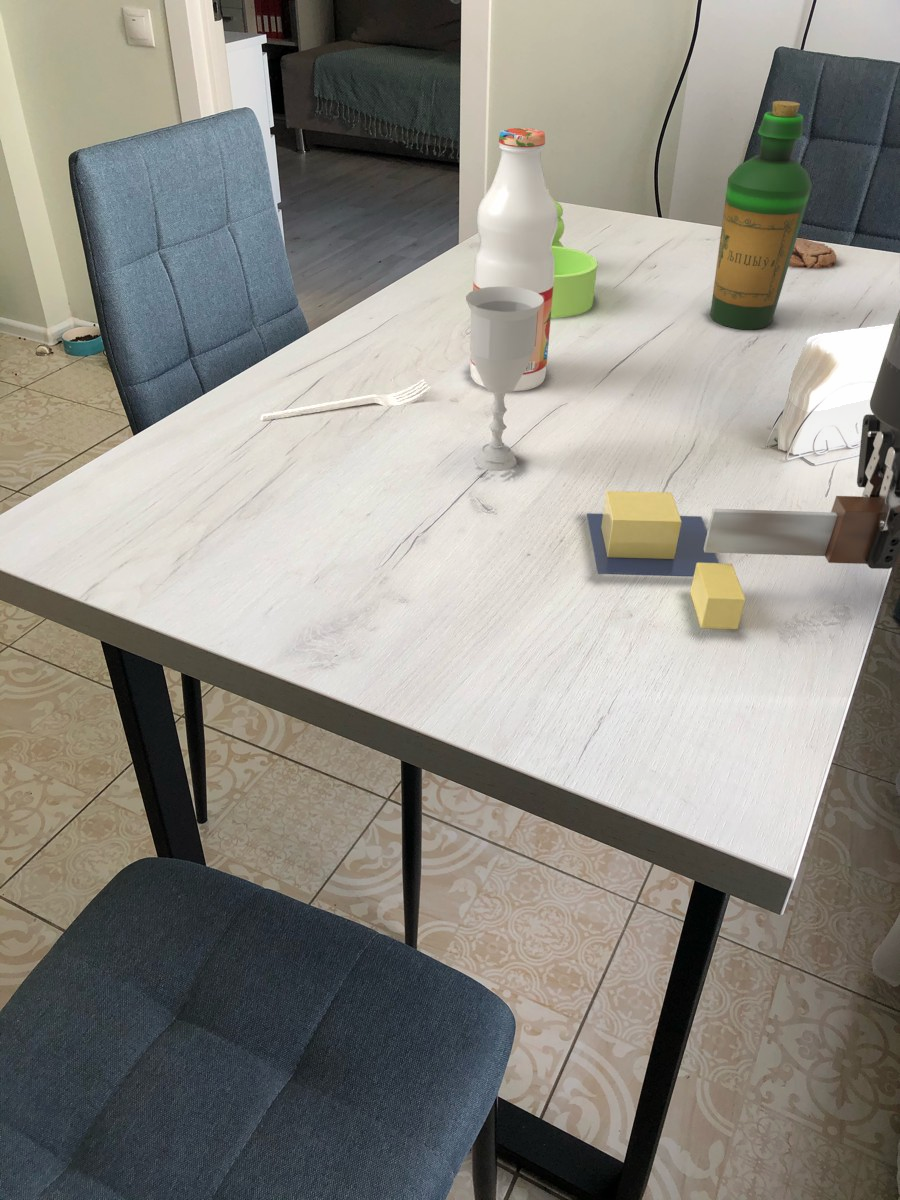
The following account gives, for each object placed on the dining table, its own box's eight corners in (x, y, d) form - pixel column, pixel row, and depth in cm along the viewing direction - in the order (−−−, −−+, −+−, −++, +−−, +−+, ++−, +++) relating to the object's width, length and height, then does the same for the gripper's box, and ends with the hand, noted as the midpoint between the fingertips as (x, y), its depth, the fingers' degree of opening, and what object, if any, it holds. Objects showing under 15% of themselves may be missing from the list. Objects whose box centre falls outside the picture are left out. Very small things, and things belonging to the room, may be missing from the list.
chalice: (521, 451, 102) (534, 285, 91) (537, 482, 96) (552, 309, 85) (455, 455, 101) (459, 287, 90) (467, 487, 95) (473, 313, 84)
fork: (258, 416, 107) (256, 401, 106) (422, 392, 113) (422, 377, 112) (264, 429, 104) (262, 413, 103) (432, 403, 111) (432, 388, 110)
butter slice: (723, 601, 81) (732, 563, 78) (735, 638, 77) (745, 599, 74) (688, 600, 81) (696, 562, 78) (698, 637, 77) (707, 597, 74)
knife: (914, 549, 79) (934, 498, 76) (925, 566, 77) (946, 514, 74) (700, 542, 79) (712, 491, 76) (706, 559, 77) (718, 507, 74)
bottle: (687, 319, 134) (726, 101, 118) (729, 303, 140) (772, 93, 123) (751, 341, 128) (802, 114, 111) (793, 323, 134) (847, 105, 117)
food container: (598, 320, 133) (609, 229, 126) (496, 319, 133) (501, 227, 125) (578, 265, 153) (586, 183, 146) (489, 263, 153) (492, 181, 145)
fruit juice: (455, 373, 118) (460, 128, 101) (514, 358, 122) (529, 120, 105) (500, 401, 112) (514, 144, 95) (560, 383, 116) (585, 135, 99)
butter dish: (699, 525, 90) (709, 479, 87) (721, 586, 82) (733, 538, 79) (585, 521, 90) (591, 476, 87) (596, 582, 82) (603, 535, 79)
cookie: (835, 274, 152) (840, 255, 151) (768, 266, 155) (772, 248, 153) (833, 256, 160) (838, 238, 158) (769, 249, 162) (773, 231, 161)
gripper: (1040, 401, 62) (951, 608, 72) (954, 322, 73) (888, 512, 83) (926, 399, 62) (854, 606, 72) (857, 320, 73) (803, 510, 83)
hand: (872, 554), depth 78 cm, fingers closed on knife, 2 cm apart
